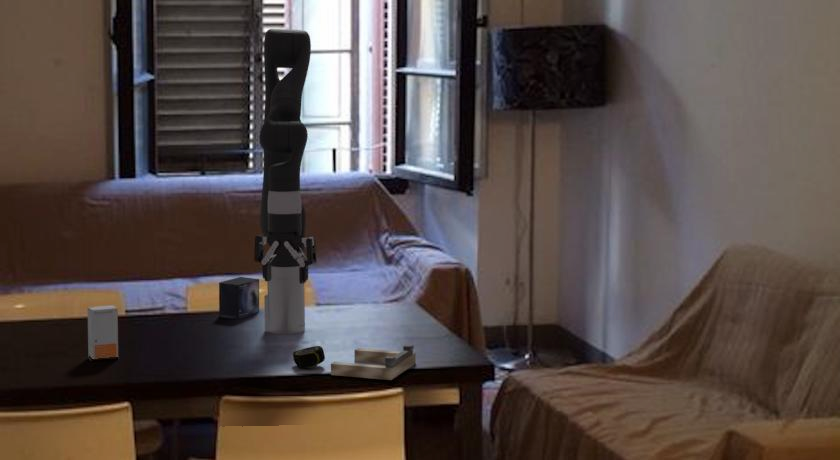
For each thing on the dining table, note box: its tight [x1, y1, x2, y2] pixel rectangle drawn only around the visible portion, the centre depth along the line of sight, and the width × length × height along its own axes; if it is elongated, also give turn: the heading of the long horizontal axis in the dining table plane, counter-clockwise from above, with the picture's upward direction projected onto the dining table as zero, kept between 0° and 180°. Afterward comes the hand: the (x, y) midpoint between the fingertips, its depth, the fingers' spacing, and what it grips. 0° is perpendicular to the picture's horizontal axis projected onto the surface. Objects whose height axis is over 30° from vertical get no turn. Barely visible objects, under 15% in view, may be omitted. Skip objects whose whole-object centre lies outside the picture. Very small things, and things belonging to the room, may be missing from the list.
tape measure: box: [292, 345, 326, 369], centre depth 289 cm, size 7×7×4 cm
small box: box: [218, 276, 260, 320], centre depth 341 cm, size 11×6×10 cm, turn 155°
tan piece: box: [330, 344, 416, 381], centre depth 287 cm, size 14×16×4 cm
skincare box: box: [87, 304, 119, 359], centre depth 296 cm, size 6×4×12 cm
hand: (285, 282), depth 292 cm, fingers open, 8 cm apart
